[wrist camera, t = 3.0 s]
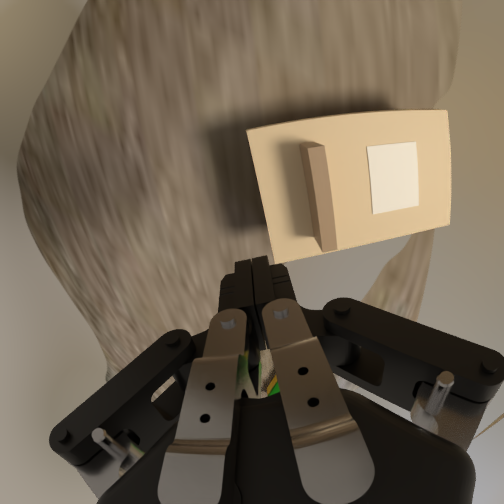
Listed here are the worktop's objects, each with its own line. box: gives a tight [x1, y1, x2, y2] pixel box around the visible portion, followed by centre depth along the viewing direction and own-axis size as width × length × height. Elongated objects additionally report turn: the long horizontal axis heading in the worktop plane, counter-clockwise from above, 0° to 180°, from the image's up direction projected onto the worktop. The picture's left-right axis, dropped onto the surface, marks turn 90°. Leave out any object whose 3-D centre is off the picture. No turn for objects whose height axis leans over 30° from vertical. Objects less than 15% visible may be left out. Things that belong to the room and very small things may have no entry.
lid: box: [246, 109, 451, 264], centre depth 22 cm, size 12×19×5 cm, turn 102°
